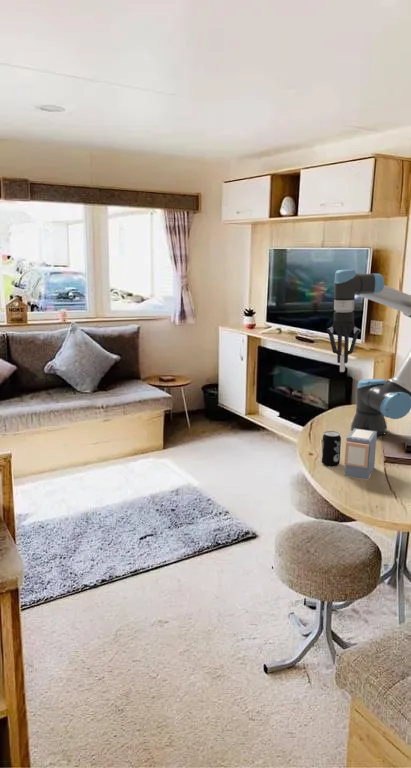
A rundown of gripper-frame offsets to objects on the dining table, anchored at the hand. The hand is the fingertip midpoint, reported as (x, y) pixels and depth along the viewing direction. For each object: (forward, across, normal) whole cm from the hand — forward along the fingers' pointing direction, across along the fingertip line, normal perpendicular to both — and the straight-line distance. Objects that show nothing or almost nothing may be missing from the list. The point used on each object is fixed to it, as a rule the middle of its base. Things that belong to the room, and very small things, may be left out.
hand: (342, 371), depth 219 cm
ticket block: (+31, +11, -25) cm, 41 cm away
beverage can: (+31, 0, -21) cm, 38 cm away
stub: (+22, +11, -31) cm, 40 cm away
